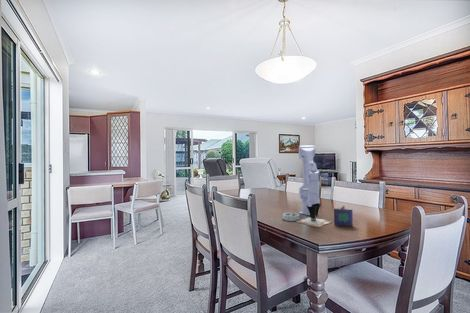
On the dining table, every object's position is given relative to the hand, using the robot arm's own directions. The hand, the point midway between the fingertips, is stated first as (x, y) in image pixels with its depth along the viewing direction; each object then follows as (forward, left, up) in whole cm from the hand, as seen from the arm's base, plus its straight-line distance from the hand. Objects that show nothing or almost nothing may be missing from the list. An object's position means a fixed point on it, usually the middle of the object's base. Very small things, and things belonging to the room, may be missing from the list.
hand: (314, 217), depth 141 cm
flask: (-6, +14, -3) cm, 16 cm away
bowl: (+4, -13, -3) cm, 14 cm away
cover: (0, 0, -2) cm, 3 cm away
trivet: (0, 0, -3) cm, 3 cm away
